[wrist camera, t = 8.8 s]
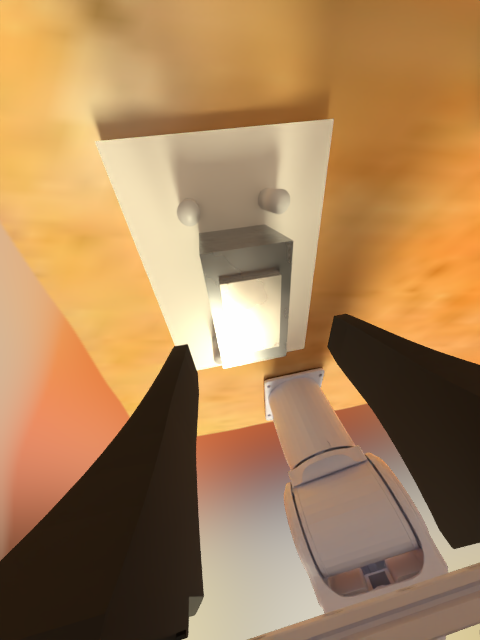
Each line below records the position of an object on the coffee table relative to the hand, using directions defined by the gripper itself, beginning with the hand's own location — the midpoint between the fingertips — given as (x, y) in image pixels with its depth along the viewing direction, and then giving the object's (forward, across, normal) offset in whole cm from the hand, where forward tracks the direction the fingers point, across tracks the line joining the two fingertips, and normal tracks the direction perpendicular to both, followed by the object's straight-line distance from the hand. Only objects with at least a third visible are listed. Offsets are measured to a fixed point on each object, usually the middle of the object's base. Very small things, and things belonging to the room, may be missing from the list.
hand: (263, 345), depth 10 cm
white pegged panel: (+8, 0, 0) cm, 9 cm away
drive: (+8, 0, 0) cm, 8 cm away
